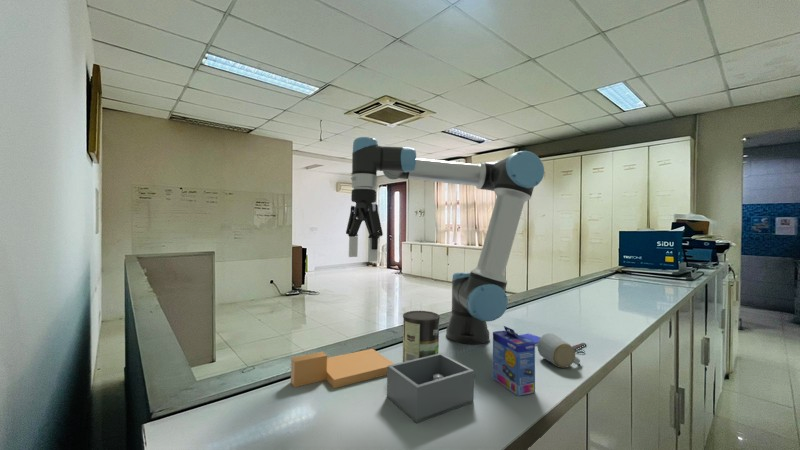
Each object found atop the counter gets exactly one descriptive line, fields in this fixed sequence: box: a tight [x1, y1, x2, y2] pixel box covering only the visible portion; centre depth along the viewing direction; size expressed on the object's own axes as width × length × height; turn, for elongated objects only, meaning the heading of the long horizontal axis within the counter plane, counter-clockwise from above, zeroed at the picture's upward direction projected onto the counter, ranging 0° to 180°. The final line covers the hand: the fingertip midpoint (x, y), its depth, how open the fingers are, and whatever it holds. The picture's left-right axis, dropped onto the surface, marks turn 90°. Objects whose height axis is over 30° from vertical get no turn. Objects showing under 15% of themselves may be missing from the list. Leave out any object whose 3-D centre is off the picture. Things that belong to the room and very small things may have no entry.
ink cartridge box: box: [492, 325, 536, 397], centre depth 81 cm, size 10×6×14 cm, turn 21°
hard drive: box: [520, 332, 542, 346], centre depth 113 cm, size 2×8×12 cm
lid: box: [290, 348, 395, 389], centre depth 85 cm, size 25×13×6 cm, turn 123°
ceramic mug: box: [537, 332, 581, 369], centre depth 95 cm, size 11×8×8 cm
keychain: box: [571, 342, 587, 354], centre depth 107 cm, size 8×18×2 cm, turn 124°
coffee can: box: [402, 310, 440, 362], centre depth 91 cm, size 10×10×14 cm
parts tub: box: [386, 352, 475, 424], centre depth 73 cm, size 16×12×7 cm
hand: (362, 258), depth 99 cm, fingers open, 13 cm apart
